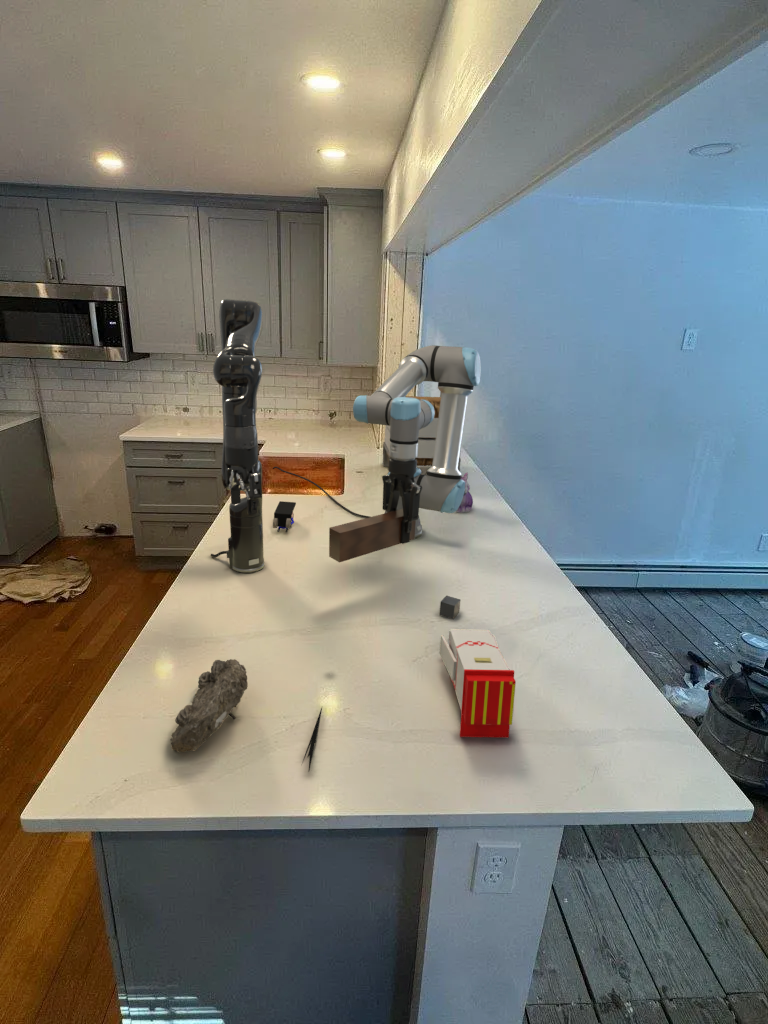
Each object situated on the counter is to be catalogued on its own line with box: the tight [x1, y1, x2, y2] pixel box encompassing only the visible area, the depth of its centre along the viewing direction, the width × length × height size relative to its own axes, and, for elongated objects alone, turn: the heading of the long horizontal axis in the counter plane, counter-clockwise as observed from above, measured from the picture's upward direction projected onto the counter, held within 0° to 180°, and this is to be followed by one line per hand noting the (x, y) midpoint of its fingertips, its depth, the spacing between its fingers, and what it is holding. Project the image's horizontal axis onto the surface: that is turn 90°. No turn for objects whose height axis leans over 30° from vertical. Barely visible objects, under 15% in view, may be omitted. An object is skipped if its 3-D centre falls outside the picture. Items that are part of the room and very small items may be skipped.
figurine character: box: [272, 500, 297, 533], centre depth 200 cm, size 7×8×15 cm
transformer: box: [381, 391, 463, 472], centre depth 268 cm, size 34×33×41 cm
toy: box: [438, 628, 517, 738], centre depth 117 cm, size 12×13×30 cm
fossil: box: [170, 658, 249, 753], centre depth 106 cm, size 22×10×15 cm
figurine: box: [454, 472, 474, 514], centre depth 225 cm, size 9×10×15 cm
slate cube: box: [439, 595, 461, 620], centre depth 148 cm, size 4×4×4 cm
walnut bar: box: [328, 509, 416, 563], centre depth 150 cm, size 26×4×8 cm, turn 131°
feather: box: [301, 673, 332, 771], centre depth 108 cm, size 2×28×2 cm
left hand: (244, 508), depth 138 cm, fingers open, 8 cm apart
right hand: (398, 539), depth 157 cm, fingers closed on walnut bar, 4 cm apart
